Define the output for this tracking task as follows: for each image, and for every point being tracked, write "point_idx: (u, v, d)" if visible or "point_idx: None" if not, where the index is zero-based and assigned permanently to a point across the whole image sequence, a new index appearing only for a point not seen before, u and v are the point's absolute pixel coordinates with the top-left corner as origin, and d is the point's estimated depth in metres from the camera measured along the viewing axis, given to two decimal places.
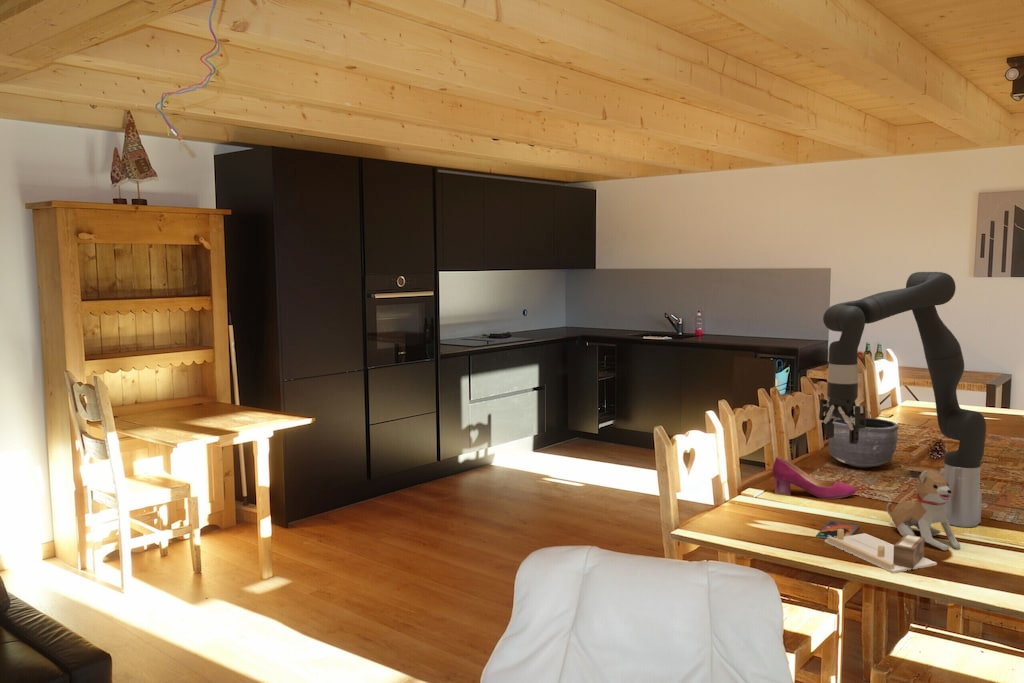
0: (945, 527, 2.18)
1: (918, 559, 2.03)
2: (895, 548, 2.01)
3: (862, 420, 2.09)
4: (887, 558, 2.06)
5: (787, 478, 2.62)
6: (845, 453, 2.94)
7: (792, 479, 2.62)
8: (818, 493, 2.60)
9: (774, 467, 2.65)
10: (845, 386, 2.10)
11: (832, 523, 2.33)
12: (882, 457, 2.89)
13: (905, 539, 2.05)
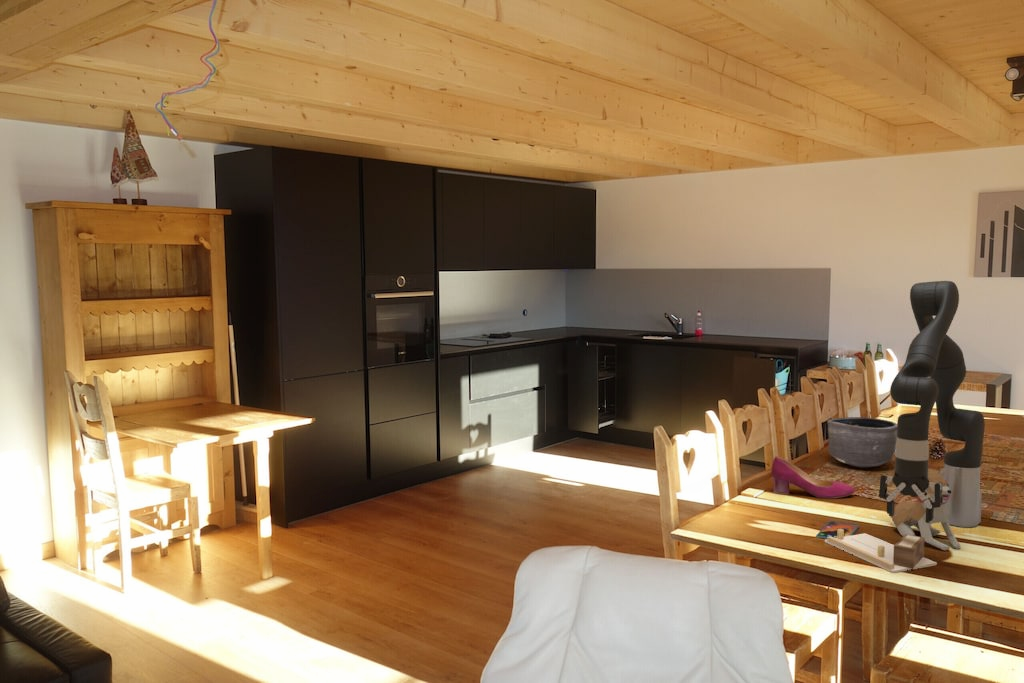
0: (945, 527, 2.18)
1: (918, 559, 2.03)
2: (895, 548, 2.01)
3: None
4: (887, 558, 2.06)
5: (785, 477, 2.63)
6: (845, 453, 2.94)
7: (790, 478, 2.63)
8: (816, 493, 2.60)
9: (773, 467, 2.66)
10: (923, 463, 1.98)
11: (832, 523, 2.33)
12: (882, 457, 2.89)
13: (905, 539, 2.05)
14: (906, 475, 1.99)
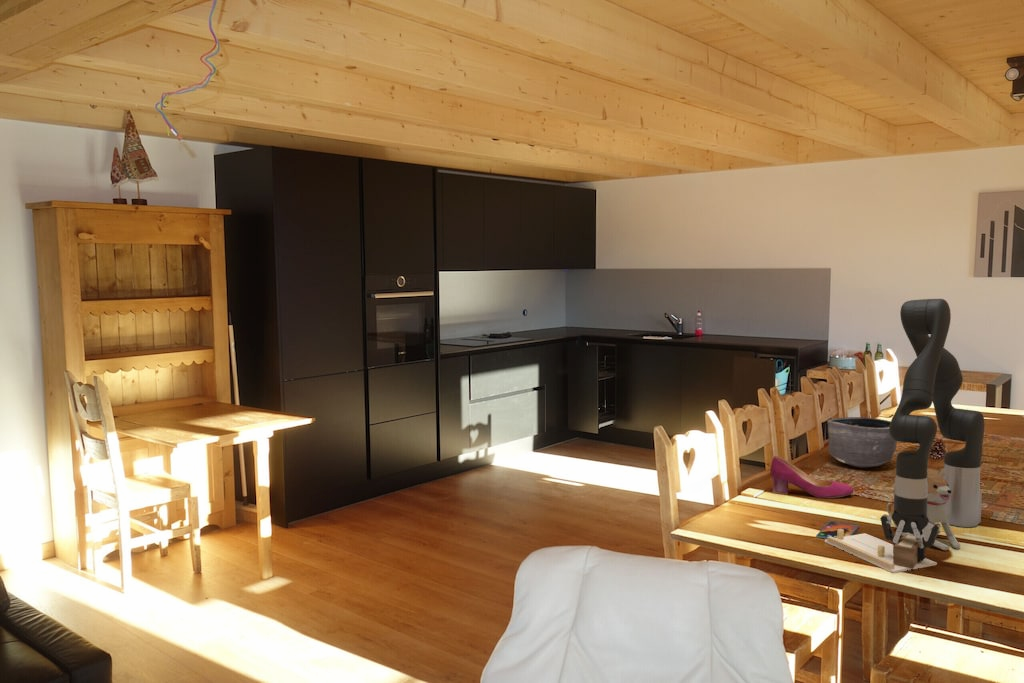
0: (945, 527, 2.18)
1: None
2: (895, 548, 2.01)
3: None
4: (887, 558, 2.06)
5: (784, 477, 2.64)
6: (845, 453, 2.94)
7: (789, 478, 2.63)
8: (815, 492, 2.60)
9: (771, 466, 2.67)
10: (922, 501, 1.99)
11: (832, 523, 2.33)
12: (882, 457, 2.89)
13: (905, 539, 2.05)
14: (905, 513, 2.00)
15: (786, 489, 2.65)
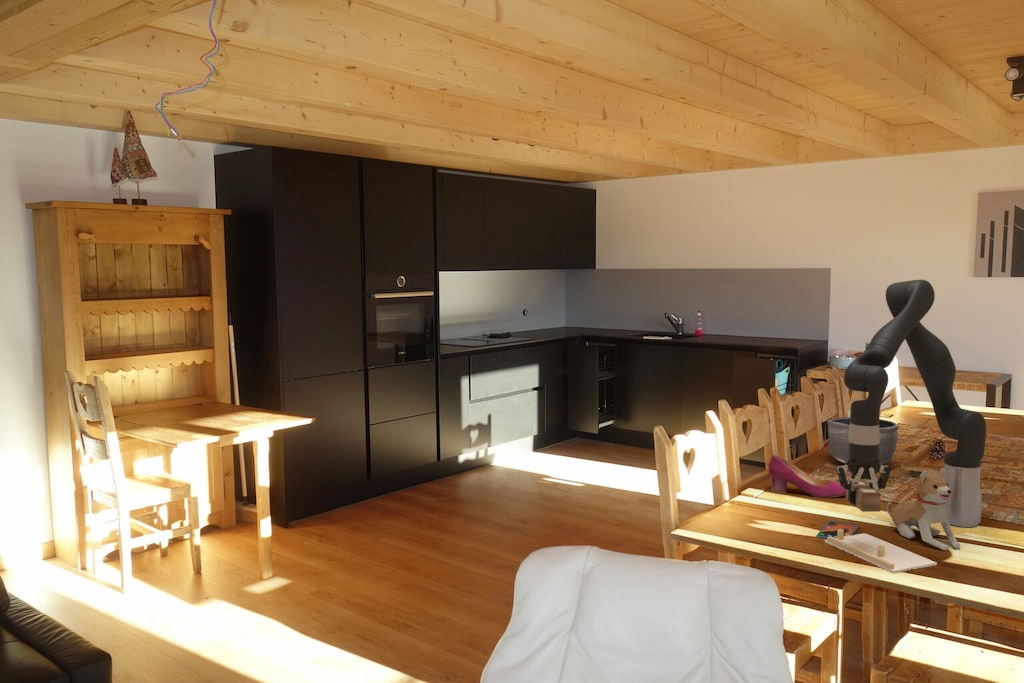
0: (945, 527, 2.18)
1: None
2: (864, 495, 2.07)
3: (881, 479, 2.12)
4: (887, 558, 2.06)
5: (782, 476, 2.65)
6: (845, 453, 2.94)
7: (787, 477, 2.65)
8: (812, 491, 2.61)
9: (770, 465, 2.69)
10: (879, 446, 2.09)
11: (832, 523, 2.33)
12: (882, 457, 2.89)
13: (857, 486, 2.13)
14: (868, 460, 2.08)
15: (784, 488, 2.66)
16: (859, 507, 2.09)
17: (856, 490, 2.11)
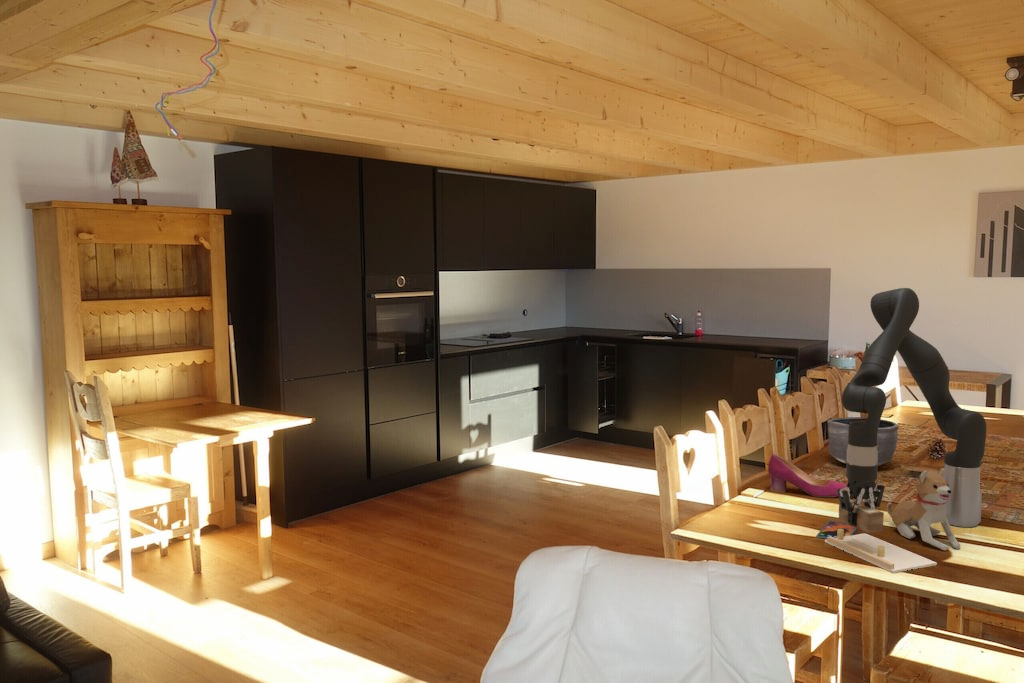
0: (945, 527, 2.18)
1: None
2: (871, 516, 2.07)
3: (874, 497, 2.15)
4: (887, 558, 2.06)
5: (781, 475, 2.66)
6: (845, 453, 2.94)
7: (786, 476, 2.65)
8: (811, 491, 2.62)
9: (769, 464, 2.69)
10: None
11: (832, 523, 2.33)
12: (882, 457, 2.89)
13: None
14: (871, 480, 2.09)
15: (783, 487, 2.67)
16: (864, 528, 2.09)
17: (858, 511, 2.11)
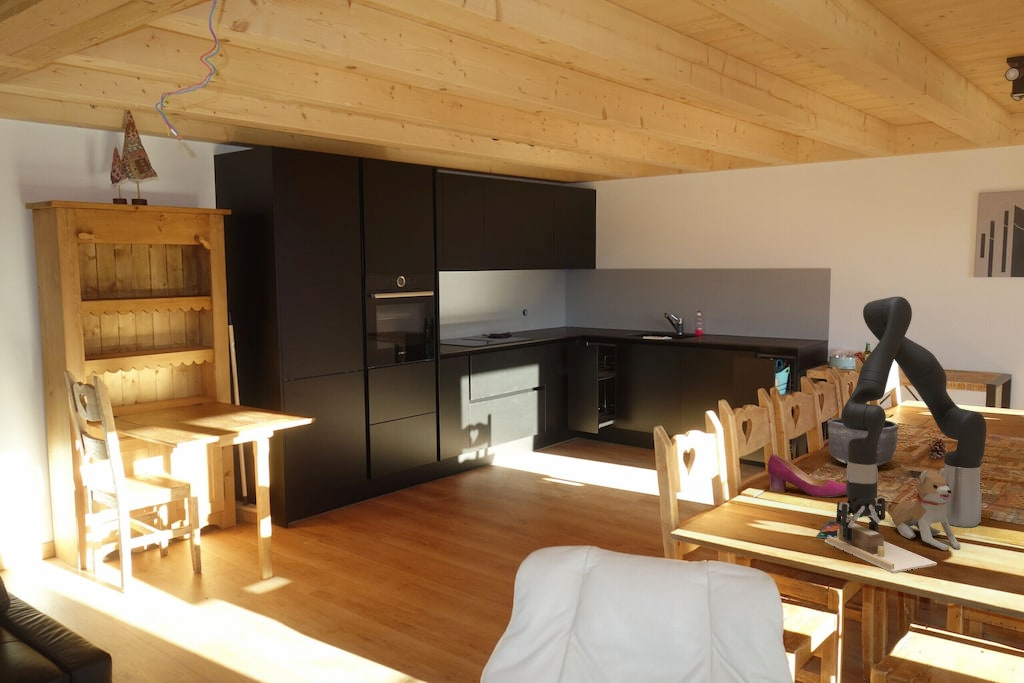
0: (945, 527, 2.18)
1: None
2: (871, 538, 2.08)
3: (877, 510, 2.16)
4: (887, 558, 2.06)
5: (780, 475, 2.67)
6: (845, 453, 2.94)
7: (785, 476, 2.66)
8: (810, 491, 2.62)
9: (768, 464, 2.70)
10: None
11: (832, 523, 2.33)
12: (882, 457, 2.89)
13: (856, 528, 2.14)
14: (871, 498, 2.09)
15: (782, 487, 2.68)
16: (864, 550, 2.10)
17: (858, 533, 2.11)
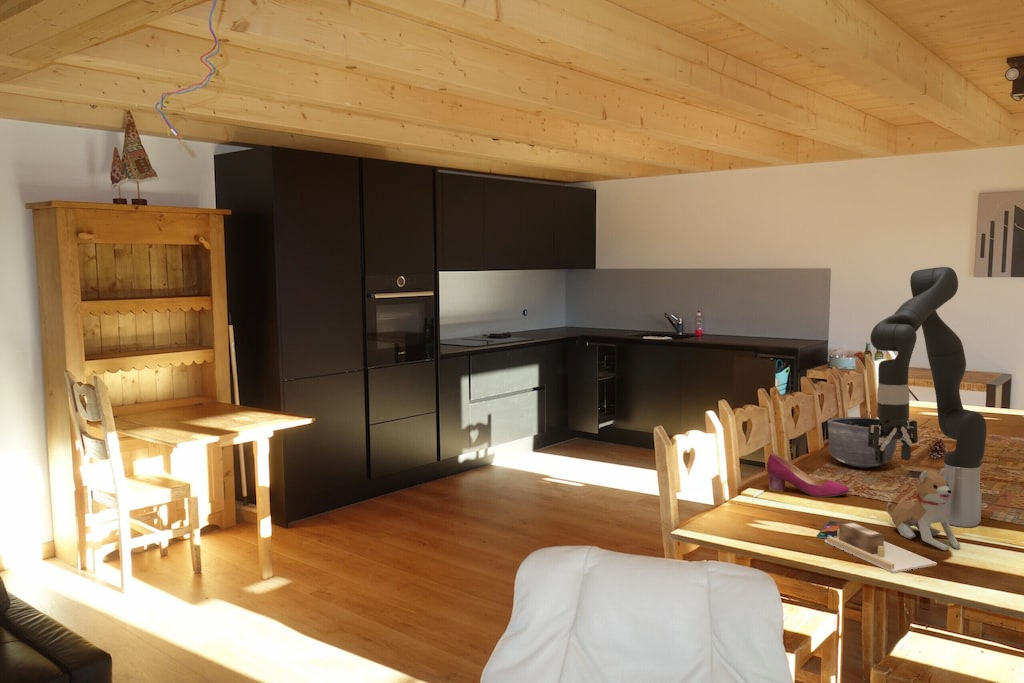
0: (945, 527, 2.18)
1: None
2: (871, 538, 2.08)
3: (909, 434, 2.12)
4: (887, 558, 2.06)
5: (779, 474, 2.67)
6: (845, 453, 2.94)
7: (783, 475, 2.66)
8: (808, 490, 2.63)
9: (767, 463, 2.71)
10: None
11: (832, 523, 2.33)
12: None
13: (856, 528, 2.14)
14: (903, 419, 2.05)
15: (781, 486, 2.68)
16: (864, 550, 2.10)
17: (858, 533, 2.11)
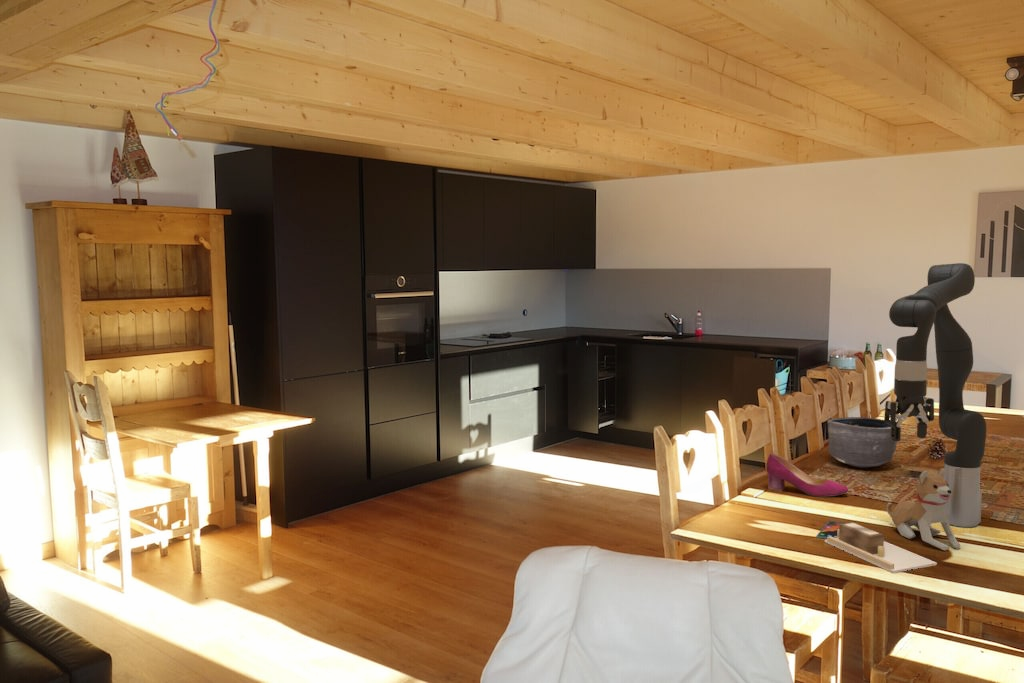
0: (945, 527, 2.18)
1: None
2: (871, 538, 2.08)
3: (926, 412, 2.11)
4: (887, 558, 2.06)
5: (778, 474, 2.68)
6: (845, 453, 2.94)
7: (783, 475, 2.67)
8: (807, 490, 2.63)
9: (767, 463, 2.71)
10: None
11: (832, 523, 2.33)
12: (882, 457, 2.89)
13: (856, 528, 2.14)
14: (921, 396, 2.04)
15: (780, 486, 2.69)
16: (864, 550, 2.10)
17: (858, 533, 2.11)
